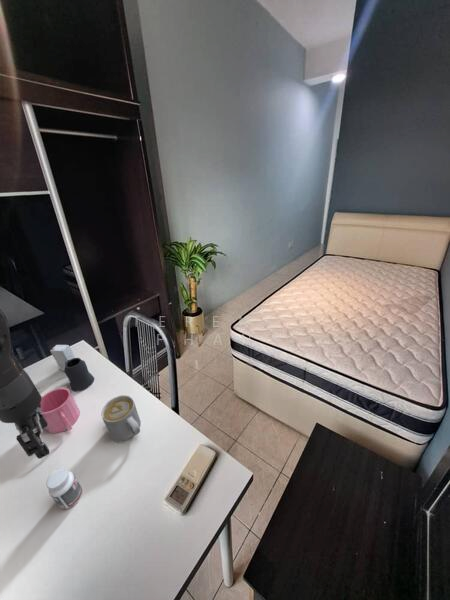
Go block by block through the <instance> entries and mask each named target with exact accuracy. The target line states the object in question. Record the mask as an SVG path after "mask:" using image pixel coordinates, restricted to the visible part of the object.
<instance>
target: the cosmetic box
mask: <svg viewBox="0 0 450 600" xmlns="http://www.w3.org/2000/svg"><path fill="white" fill-rule="evenodd" d="M50 353H51V355H52V357H53V360H55V363H56V364H57V366H58V367H59V369H60V371H61V372H64V369H65V362H66V361H68V360H71V359H73V358H76V356H75V354H74V353H73V351H72V348H71V347H70V345H69V344H55V345H54V346H53V347H52V348H51V349H50Z"/></svg>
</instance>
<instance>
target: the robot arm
mask: <svg viewBox="0 0 450 600" xmlns="http://www.w3.org/2000/svg"><path fill="white" fill-rule="evenodd" d="M10 332H11V331H10V325H9V322H8V319H7V316H6V315H5V313H4V312H3V310H1V309H0V422H1V423H4V424H14V427H15V429H16V430H17V431H18V433H19V434H18V435H17V436H16V441H17V442H18V444H19V445H20V447H21V448H22V450H23V451H24V452H25V454H26V456H28V457H31V456H33V455H35V457H36V459H39V460H40V459H43V458H45V457H46V456H48V455H50V448H49V447H48V445H47V444H46V442H45V441H44V438H43V437H42V434H43V432H44V431H43V429H46V427H47V426H48V423H47V421H46V420H45V418H44V416H43V415H42V414H43V412H42V410H41V404H40V403H41V399H42V398H41V397H42V394H41V393H40V392H39V390H38V388H37V387H36V385H35V383H34V382H33V380H32V379H31V377H30V376H29V374H28V373H27V371H26V370H24V368H23V367H22V365H21V363H20V362H19V360H18V358H17V357H16V355H15V353H14V349H13V344H12V339H11V333H10ZM35 430H37V431H36V432H35Z"/></svg>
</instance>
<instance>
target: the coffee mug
mask: <svg viewBox="0 0 450 600" xmlns="http://www.w3.org/2000/svg"><path fill="white" fill-rule="evenodd" d="M136 406H137V405H136V404H135V400H134V399H133V398H132V397H131V396H129V395H126V394H125V395H122V394H121V395H118V396H115V397H113V398H111V399H109V400H108V401H107V402H106V403H105V404H104V406H103V407H102V409H101V419H102V421H103V423H104V425H105V429H106V430H107V432H108V435H109V437H110V438H111V440H113V441H114V442H117V443H123V442H126V441H130V440H131V439H132V438H134V436H138V434H140V432H141V423H142V422H141V419H140V415H139V413H138V408H137V407H136Z"/></svg>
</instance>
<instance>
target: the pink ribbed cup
mask: <svg viewBox="0 0 450 600" xmlns="http://www.w3.org/2000/svg"><path fill="white" fill-rule="evenodd" d="M41 398H42V399H41V403H40V404H41V410H42V412H43V414H42V415H43V416H44V418H45V420H46V421H47V423H48V426H47V427H45V429H46V430H47V431H48V432H49V433H51V434H58V433H62V432H65V431H66V430H68V431H71V430H73V426H74V425H75V423H77V421H78V420H79V418H80V416H81V411H80V407H79V406H78V404H77V402H76V400H75V398H74V397H73V394H72V392H71V389H70V388H66V387H59V388H55V389H52V390H50V391H48V392H46V393H44V394H43V395H41Z"/></svg>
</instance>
